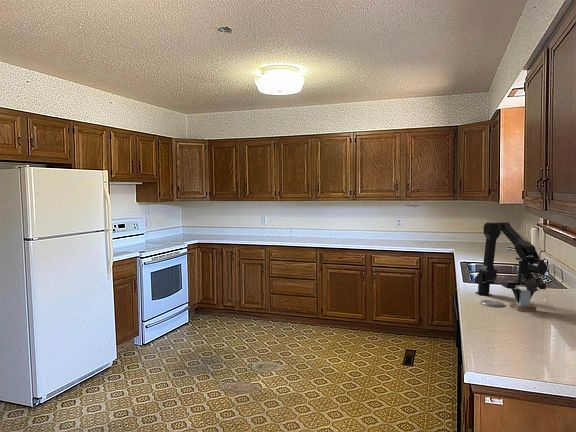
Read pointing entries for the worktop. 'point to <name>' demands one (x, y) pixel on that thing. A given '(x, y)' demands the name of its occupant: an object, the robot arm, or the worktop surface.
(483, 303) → the charcoal trivet
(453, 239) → the worktop surface
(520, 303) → the slate block
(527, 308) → the walnut bay
